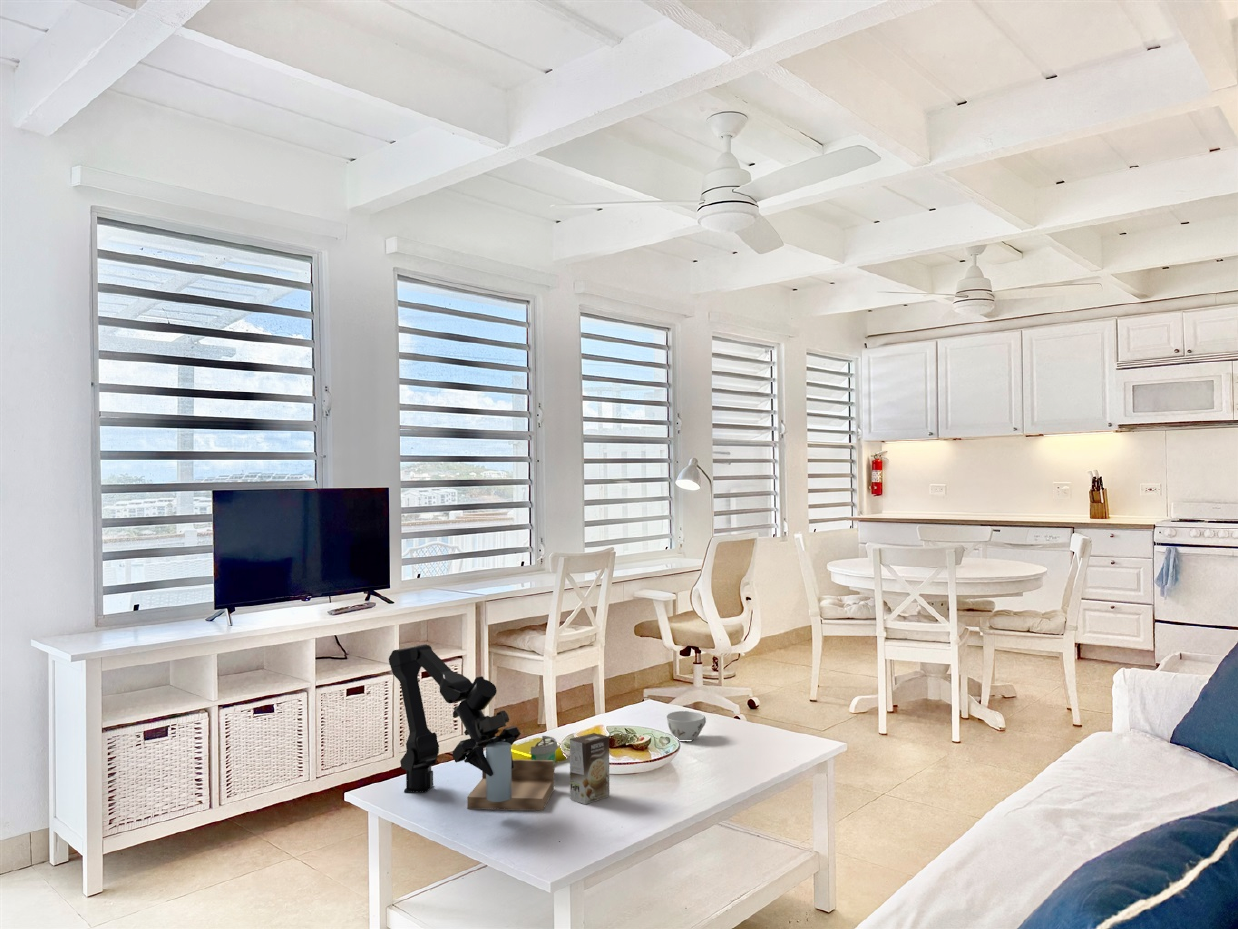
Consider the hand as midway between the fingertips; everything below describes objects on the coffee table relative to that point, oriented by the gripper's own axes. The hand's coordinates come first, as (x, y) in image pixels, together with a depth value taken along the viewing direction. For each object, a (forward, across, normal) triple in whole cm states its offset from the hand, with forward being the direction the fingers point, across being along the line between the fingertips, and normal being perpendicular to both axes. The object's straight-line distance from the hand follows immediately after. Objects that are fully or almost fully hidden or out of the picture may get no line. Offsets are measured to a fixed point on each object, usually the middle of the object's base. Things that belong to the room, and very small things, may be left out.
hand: (502, 772), depth 215 cm
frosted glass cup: (+4, 0, +6) cm, 7 cm away
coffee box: (+13, +25, +4) cm, 29 cm away
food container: (-2, +30, +20) cm, 36 cm away
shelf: (+2, +11, +15) cm, 19 cm away
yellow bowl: (-13, +40, +30) cm, 51 cm away
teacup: (+4, +86, +13) cm, 87 cm away
